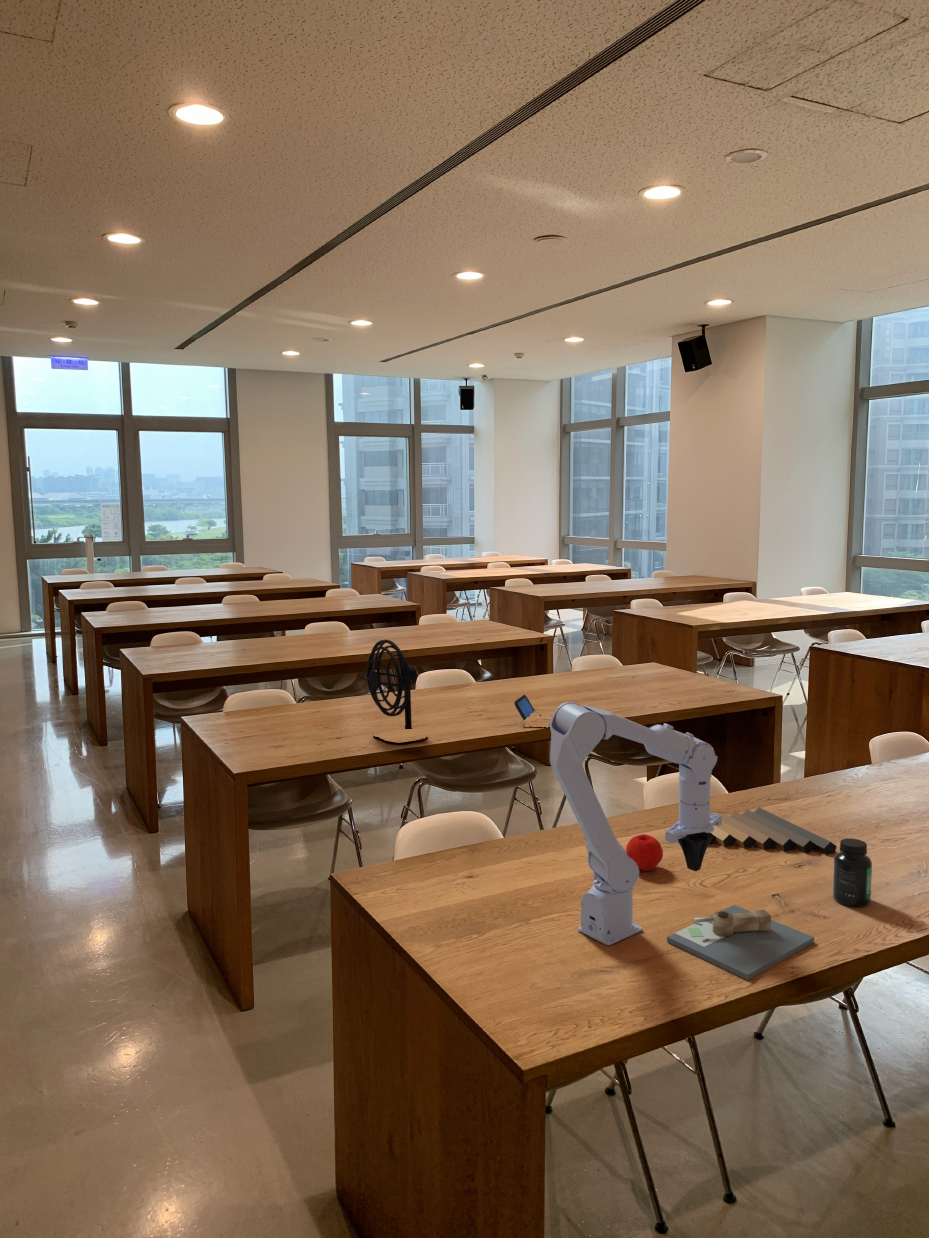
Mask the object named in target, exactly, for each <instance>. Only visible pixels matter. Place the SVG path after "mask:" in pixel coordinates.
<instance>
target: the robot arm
mask: <svg viewBox="0 0 929 1238" xmlns="http://www.w3.org/2000/svg"><path fill="white" fill-rule="evenodd" d="M552 716H553V717H552V719H551V721H550V723H549V726H550V728H549V729H550V733H551V736H550V737H551V738H550V749H549V751H550V752H549V762H550V765H551V768H552V770H553V772H554V774H555V777H556V779H557V781H558V783H559V785H560V787H561V789H562V791H563V793H564V795H565V798H566V800H567V801H568V804H569V806H570V808H571V810H572V812H573V815H574V816H575V817H574V818H575V819H576V821H577V823H578V826H579V827H580V830H581V832H582V834H583V836H584V838H585V840H586V842H585V844H584V847H585V848H586V852H587V863H588V866H589V868H590V870H592V872H593V881H592V886H591V888H590V889H589V890H588V891H586V892H585V893H584V894H583V895H582V897H581V900H580V926H578V928H577V931H579V932H581V933H582V934H585V935H587V936H588V937H590V938H592V939H594V940H597V941H598V942H600V943H602V944H604V945H606V946H611V945H613V944H616V943H618V942H620V941H622V940H624V939H627V938H628V937H631V936H633V935H635V934H637V933H640V932H641V931H643V927H642V926H641V925H638V924H636V923H634V922H633V913H634V911H633V909H634V907H633V906H634V905H633V895H634V894H633V891H634V889H633V888H634V886H635V885H636V884H637V883H638V880H639V878H640V870H639V868H638V865H637V864H636V862H635V861H633V860H632V859H631V858H629V857H628V855H627V854H626V849H625V848H624V847H623V846H622V844H621V843H620V842H619V840H618V839H617V837H616V836H615V834H614V831H613V830H612V828H611V825H610V822H609V821H608V818H607V816H606V814H605V813H604V810H603V808H602V804H601V803H600V801H599V799H598V797H597V795H596V793H595V791H594V788H593V785H592V784H591V782H590V780H589V778H588V775H587V773H586V771H585V769H584V766H583V763H584V761H585V760H586V759H587V757H588V756H589V755H590V754H591V753H592V751H593V750H594V749H595V748H596V747H597V745H598V744H599V743H600V742H601V740H602V739H603V740H609V738H611V737H612V736H613V735H615V736H617V737H621V738H624V739H627V740H630V741H634V742H637V743H639V744H643V746H644V748H645V750H646V752H647V753H648V754H649V755H653V756H655V757H658V758H660V759H664V760H665V761H668V762H671V763H674V764H678V771H679V772H678V775H679V776H678V820H677V821H676V822H675V823H674V824H673V825H671V827H670V828H669V829H666V830H664V831H665V833H664V834H665V835H664V836H665V839H664V840H665V841H666V842H669V843H672V844H675V843H677V842H678V843H679V846H680V847H681V849H682V852H683V857H684V861H685V864H686V867H687V869H688V870H691V871H694V872H698V871H700V870H701V867H702V864H703V860H704V857H705V854H706V852H707V849H708V847H709V843H710V842H711V840H712V839H713V834H712V833H710V832H712V831H714V827H713V826H715V825H716V826H720V825H722V816H721V814H718V813H715V812H714V813H711V778H712V771H713V769H714V768H715V766H716V764H717V762H718V756H717V755H716V753H715V750H714V747H712V745H711V744H710V743H709V742H705V741H703V740H701V739H699V738H697V737H695V736H694V734H692V733H690V732H685V733H683V732H681V731H677V730H675V729H674V726H672V725H670V724H667V723H663V725H662V724H654V725H652V726H650V727H647V726H644V725H643V724H639V723H637V722H635V721H632V720H630V719H627V718H626V717H623V716H620V715H618V714H616V713H613V712H611V711H608V710H605V709H602V708H599V707H598V708H597V707H594V706H591V705H586V704H583V705H582V706H581V705H580V704H579V703H577V702H575V701H566V702H563V703H561V704H560V705H559V706H558V707H557V708H556V709H555V711H554V712H553V715H552Z"/></svg>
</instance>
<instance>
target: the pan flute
mask: <svg viewBox="0 0 929 1238" xmlns="http://www.w3.org/2000/svg"><path fill="white" fill-rule="evenodd" d="M720 815H721V816H722V825H720V826H716V825H715V826H713V827H714V831H712V832H710V833H712V834H713V839H712V840H711V842H710V843H709V845H714V844H715V843H717V844H719V845H720V846H722V847H724V848H728V847H731V846H735V844H736V845H738V846H739V847H741V848H743V849H750V848H754V846H757V847H758V848H760V849H762V850H763V851H767V850H772V849H774V848H777V849H779V850H781V851H783V852H790V851H794V850H795V849H797V850H798V851H800V852H802V853H804V854H808V853H813V852H815V851H818V852H819V853H821V854H824V855H825V856H827V855H832V854H836V852H837V851H836V850H837V848H838V847H837V845H836V844H835V843H833V842H831V841H830V840H828V839H826V838H824V837H822V836H819V835H817V834H815V833H814V832H811V831H809V830H807V829H805V828H803V827H801V826H800V825H797V824H795V823H792V822H790V821H788V820H786V819H784V818H782V817H780V816H778V815H776V814H774V813H772V812H770V811H767V810H766V809H763V808H761V807H758V808H757V809H755V810H754V811H752V810H750V809H746V810H745V811H744V812H743V813H739V812H737V811H735V810H734V811H733V813H731V814H730V816H729V815H728V814H726V813H724V812H722V813H721V814H720ZM709 845H708V846H709Z"/></svg>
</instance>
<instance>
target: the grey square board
mask: <svg viewBox="0 0 929 1238" xmlns="http://www.w3.org/2000/svg"><path fill="white" fill-rule="evenodd" d="M721 911H722V912H728V913H730V914H738V913H751V912H752V910H751V911H750V910H748V909H745V908H744V907H743V908H742V907H740V906H738V905H735V904H733V905H731V906H728V907H726V908H724V909H722V910H721ZM712 916H713V914H712V915H710V916H708V917H712ZM666 942H667V943H669V944H671V945H672V946H675V947H677V948H678V949H680V950H683V951H685V952H687V953H689V954H691V955H694V956H696V957H698V958H700V959H702V960H704V961H706V962H708V963H710V964H712V965H715V966H717V967H719V968H720V969H723V970H725V971H727V972H730V973H731V974H733V975H736V976H738V977H739V978H742V979H744V980H746V981H749V980H751V979H752V978H755V977H756V976H758V975H760V974H761V973H763V972H765V971H766V970H768V969H770V968H772V967H774V966H775V965H777V964H779V963H781V962H782V961H784V960H786V959H787V958H789V957H791V956H793V955H795V954H796V953H798V952H800V951H801V950H803V949H805V948H807V947H808V946H810V945H812V944H813V943H815V937H814V936H813V935H810V934H807V933H805V932H803V931H800V930H797V929H795V928H793V927H791V926H787V925H785V924H783V923H780V922H778V921H775V920H773V919H771V930H769V931H760V930H755V931H742V932H733V934H732V935H730V936H720V935H717V934H715V933H714V932H713V921H709V922H694V921H693V924H691V925H689V926H687V927H684V928H683V929H681V930H678V931H676V932H674V933H671V934H670V935H668V936H666Z"/></svg>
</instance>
